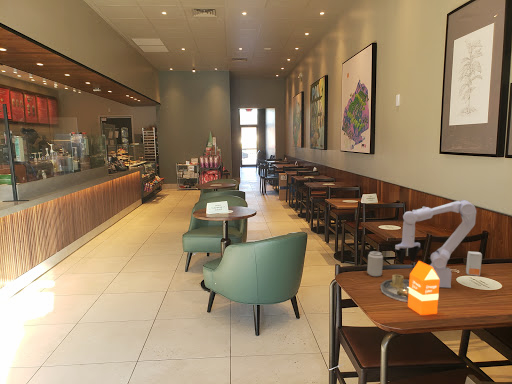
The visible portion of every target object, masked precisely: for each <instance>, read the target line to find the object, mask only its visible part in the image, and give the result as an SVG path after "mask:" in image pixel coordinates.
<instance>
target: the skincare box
mask: <svg viewBox="0 0 512 384" xmlns="http://www.w3.org/2000/svg"><path fill="white" fill-rule="evenodd" d="M482 260H483V254H482V253H481V252H479V251H467V257H466V266H465V267H466V268H465V273H466V275H468V276H477V277H479V276H481V269H482Z"/></svg>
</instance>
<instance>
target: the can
mask: <svg viewBox="0 0 512 384" xmlns="http://www.w3.org/2000/svg"><path fill="white" fill-rule="evenodd" d="M382 254H383V253H382V252H380V251H375V250H373V251H370V252H369V253H368V255H367V269H366V270H367V271H366V272H367V274H368V275H369V276H371V277H381V276H382V275H383V261H384V255H382Z"/></svg>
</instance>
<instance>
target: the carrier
mask: <svg viewBox="0 0 512 384" xmlns="http://www.w3.org/2000/svg"><path fill="white" fill-rule="evenodd" d="M409 281H410V279H408V278H407V279H404V278H403V284H405V285H403V287H398V288H396V287H393V286H392V285H390V283H391V282H392V278H391V279H385V280H383V282H381V283H380V292H382V293H383V295H384V296H386V297H388V298H390V299H393V300H396V301H399V302H404V303H408V295H409Z"/></svg>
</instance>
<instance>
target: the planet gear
mask: <svg viewBox="0 0 512 384" xmlns="http://www.w3.org/2000/svg"><path fill="white" fill-rule="evenodd" d="M391 276H392V278H391V279H392V282H391V283H390V285H392V286H393V287H396V288H398V287H403V285H405V284H403V279H404V275H403V274H396V273H395V274H392V275H391Z"/></svg>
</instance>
